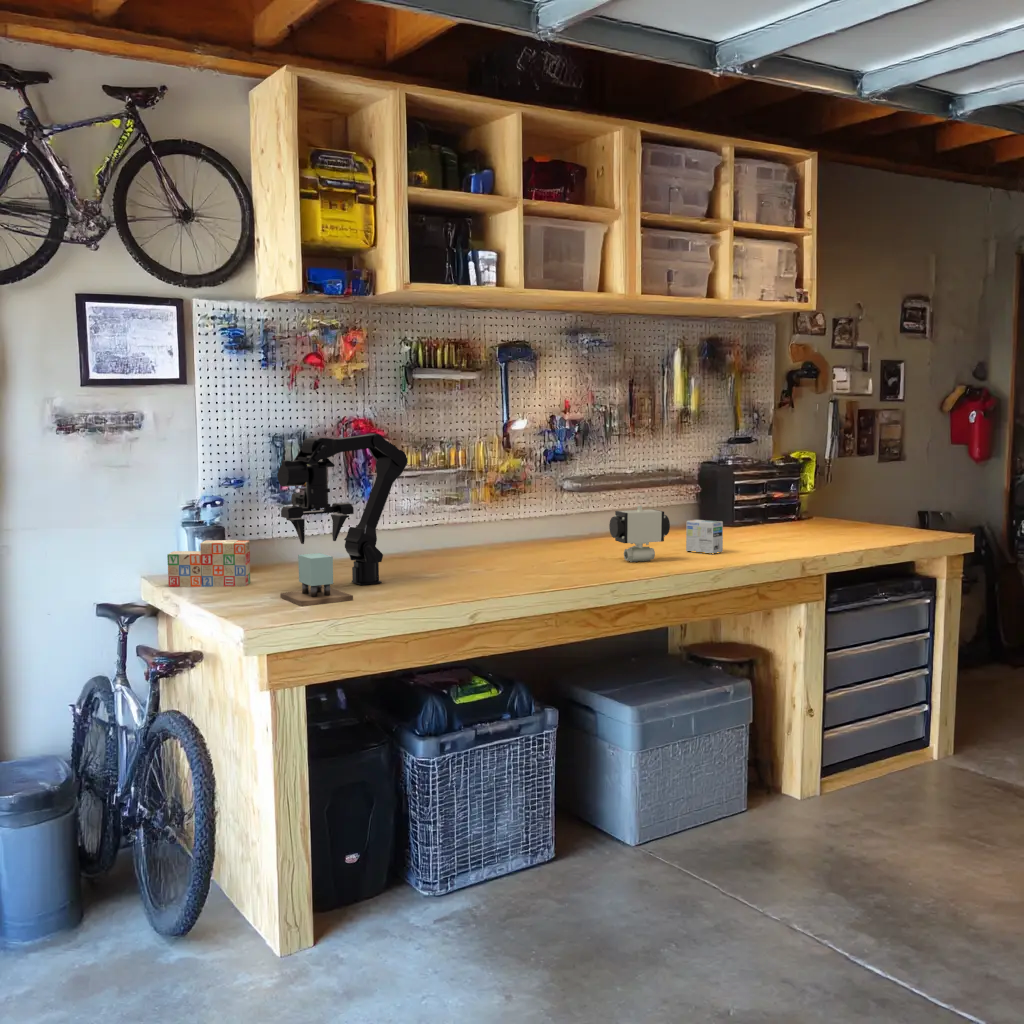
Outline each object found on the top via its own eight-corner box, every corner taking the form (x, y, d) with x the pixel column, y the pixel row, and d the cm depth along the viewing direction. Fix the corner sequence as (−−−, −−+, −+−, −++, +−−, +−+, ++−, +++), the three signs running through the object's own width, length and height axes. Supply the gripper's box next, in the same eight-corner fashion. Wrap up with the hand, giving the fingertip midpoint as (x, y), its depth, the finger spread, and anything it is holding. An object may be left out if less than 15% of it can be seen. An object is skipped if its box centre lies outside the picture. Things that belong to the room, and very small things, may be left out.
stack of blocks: (167, 587, 279) (166, 543, 278) (174, 583, 285) (172, 540, 284) (246, 586, 280) (245, 542, 279) (251, 582, 286) (249, 539, 285)
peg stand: (330, 592, 270) (330, 576, 270) (353, 600, 259) (352, 583, 258) (280, 597, 263) (279, 581, 262) (301, 606, 251) (300, 589, 251)
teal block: (320, 579, 265) (319, 552, 265) (333, 583, 259) (332, 556, 258) (298, 581, 262) (298, 554, 261) (311, 586, 255) (310, 558, 255)
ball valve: (657, 557, 330) (658, 503, 328) (669, 561, 322) (670, 505, 320) (607, 560, 324) (607, 505, 322) (618, 564, 316) (618, 507, 314)
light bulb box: (723, 552, 341) (723, 521, 340) (713, 555, 336) (713, 522, 335) (695, 550, 348) (695, 518, 347) (685, 552, 343) (685, 520, 342)
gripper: (336, 481, 283) (337, 536, 284) (272, 484, 272) (274, 542, 274) (353, 483, 274) (355, 540, 275) (288, 487, 263) (290, 546, 265)
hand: (318, 542), depth 272 cm, fingers open, 9 cm apart
